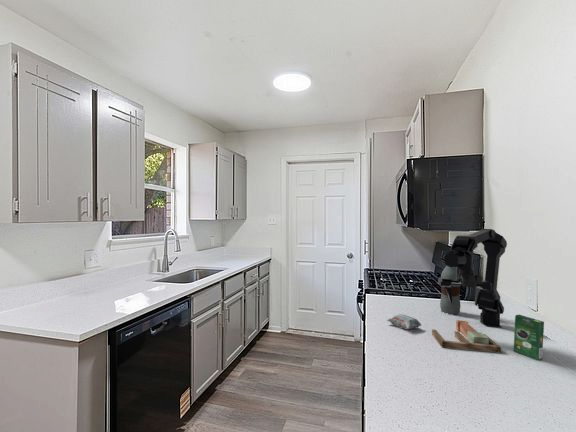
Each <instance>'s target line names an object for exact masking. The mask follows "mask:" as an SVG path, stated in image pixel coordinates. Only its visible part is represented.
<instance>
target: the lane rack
mask: <svg viewBox="0 0 576 432" xmlns="http://www.w3.org/2000/svg"><path fill="white" fill-rule="evenodd" d="M483 334H484V335H486V336H487V337H488V338H489V344H478V343H470V342H469V341H468V340H467V338H466V337H465V336H464V335H463V334H462V333H461V332H460V331H457V330H455V331H454V337H455V338H456V340H457V341H454V340H445V339H444V337H443V336H442V335H441V334H440V333H439V331H438V330H437V329H431V335H432V336H433V338H434V339H435V340H436V342H437V343H438V344H439V346H440V347H441V348H446V347H447V348H449V349H456V348H459V349H458V350H466V349H467V350H466V351H477V350H478V351H479V352H489V353H499V354H501V353H502V346H501V345H499V344H498V343H497V342H496V341H495V340H493V339H491V337H489V336H488V335H487V334H485V333H483ZM458 340H459V341H460V342H459V341H458Z"/></svg>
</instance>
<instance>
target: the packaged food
mask: <svg viewBox="0 0 576 432" xmlns="http://www.w3.org/2000/svg"><path fill="white" fill-rule="evenodd" d="M386 321H387V322H389V323H390V324H392V325H393V326H395V327H398V328H401V329H404V330H412V329H417V328H419V327H421V326H422V324H421V322H420V321H419V320H418V319H416V318H415V317H412V316H409V315H407V314H402V313H399V314H396V315H394V316H392V317H390V318H388V319H386V320H385V322H386Z"/></svg>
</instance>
